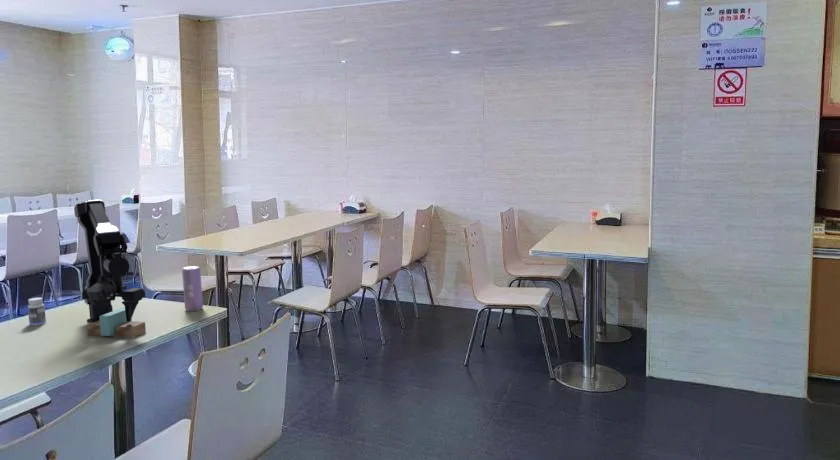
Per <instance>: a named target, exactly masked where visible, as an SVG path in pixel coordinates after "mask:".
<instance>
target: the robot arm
mask: <svg viewBox="0 0 840 460" xmlns="http://www.w3.org/2000/svg"><path fill="white" fill-rule="evenodd" d="M73 212H74V216H75V218H76V219H77V223H78V225H80V226H81V228H82V229H83V231H84V238H85V245H86V252H87V258H88V259H87V260H88V266H89V274H88V276H87V278H86V280H85V285H86V286H84V289H83V290H82V292H81V298H82V300H83V301H84V303H85V304H86V305H88V310H89V311H88V312H89V318H87V319H86V321H87V322H96V321H99V320H100V319H99V316H101V315H104V314H107V313H109V312H112V311H114V310H113V305H112V301H115V300H116V298H121V299H122V301H121V304H122V305H123V306H124V308H125V312H126V319H127V322H129V321H131V318H133V316H134V313H135V311H136V309H137V306H138V304H139V302H140V301H142V300H143V299H144V298H146V290H145V289H144V288H142V287H141V288H140V287H132V288H130V289H127V285H124V282H123V278H124V277H126V274H127V273H128V272H129V269H130V263H129V260H127V259H126V258H125V257H123V255H122V254H125V253H128V252H127V250H128V244H127V241H126V239H125V236H124V235H123V233H121V232H120V229H119V228H118V227H117V226H115V225H113V224H112V223H111V221H110V219H109V216H108V214H107V211H106V205H105V202H104V200H102V199H87V200H85V201H83V202H78V203H77V204H75V205H74V210H73Z"/></svg>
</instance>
